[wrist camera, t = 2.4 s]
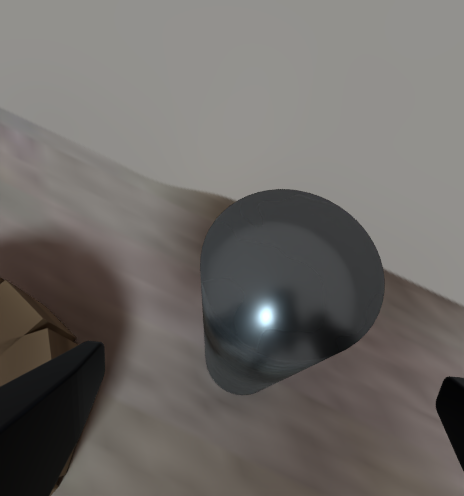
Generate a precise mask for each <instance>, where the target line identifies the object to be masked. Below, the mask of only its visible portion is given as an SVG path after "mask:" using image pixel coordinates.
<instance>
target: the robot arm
mask: <svg viewBox="0 0 464 496" xmlns="http://www.w3.org/2000/svg"><path fill="white" fill-rule="evenodd" d="M104 372H105V353H104V344H103V343H102V342H95V341H86V342H84V343H82V344H80V345H78V346H76V347H74V348H72V349H70V350H69V351H67V352H65V353H63V354H61V355H59V356H57V357H55V358H53V359H52V360H50V361H48V362H46V363H44V364H42V365H40V366H38V367H36V368H34V369H33V370H31V371H29V372H27V373H25V374H23V375H21V376H19V377H17V378H15V379H14V380H12V381H10V382H8V383H6V384H4V385H2V386H0V496H49V495H50V494H51V492H52V490H53V488H54V486H55V484H56V482H57V480H58V478H59V476H60V474H61V472H62V470H63V468H64V467H65V465H66V463H67V461H68V459H69V457H70V455H71V453H72V451H73V449H74V447H75V445H76V443H77V441H78V439H79V437H80V435H81V433H82V430H83V428H84V425H85V423H86V420H87V418H88V415H89V413H90V410H91V408H92V405H93V402H94V400H95V397H96V395H97V392H98V390H99V387H100V385H101V382H102V380H103V376H104ZM436 410H437V413H438V415H439V417H440V419H441V422H442V424H443V426H444V429H445V431H446V433H447V435H448V438H449V440H450V442H451V444H452V447H453V449H454V451H455V453H456V456H457V458H458V460H459V462H460V465H461V467H462V469H463V471H464V378H460V377H450V376H449V377H446V378H445V379H444V381H443V383H442V386H441V388H440V391H439V394H438V396H437V399H436Z"/></svg>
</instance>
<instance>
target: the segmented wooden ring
mask: <svg viewBox="0 0 464 496" xmlns="http://www.w3.org/2000/svg"><path fill="white" fill-rule="evenodd" d="M75 339H76V337H75V336H74V335H73V334H72V333H71V332H70V331H69V330H68V329H67V328H66V327H65V326H64V325H63V324H62V323H61V322H60V321H59V320H58V319H57V318H56V317H55V316H54V315H53V314H52V313H51V312H50V311H49V310H48V309H47V308H46V306H44V305H43V304H41V303H40V302H38V301H37V300H35V299H34V298H32V297H31V296H29V295H28V294H26V293H25V292H23V291H22V290H20V289H19V288H17V287H16V286H14V285H13V284H11V283H10V282H8V281H7V280H3V279H2V278H0V386H2V385H4V384H6V383H8V382H10V381H12V380H14V379H15V378H17V377H19V376H21V375H23V374H25V373H27V372H29V371H31V370H33V369H34V368H36V367H38V366H40V365H42V364H44V363H46V362H48V361H50V360H52V359H53V358H55V357H57V356H59V355H61V354H63V353H65V352H67V351H69V350H70V349H72V348H74V347H76V346H78V344H76V343H74V342H73V341H74V340H75ZM75 446H76V445H75ZM74 449H75V447H74ZM74 449H73V451H74ZM73 451H72V453H71V455H70V457H69V459H68V461H67V463H66V465H65V467H64V468H63V470H62V472H61V474H60V476H59V477H61V476H63V475H66V472H67V469H68V466H69V463H70V460H71V457H72V454H73ZM57 488H58V485H57V484H55V486H54V488H53V490H52V492H51V494H50V495H49V496H51V495H52V494H53V492H54V491H55V490H56V489H57Z"/></svg>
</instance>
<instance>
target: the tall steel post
mask: <svg viewBox="0 0 464 496" xmlns="http://www.w3.org/2000/svg"><path fill="white" fill-rule="evenodd" d="M200 271H201V289H202V306H203V323H204V341H205V358H206V365H207V369H208V371H209V373H210V375H211V377H212V379H213V380H214V381H215V382H216V383H217V385H218V386H220V387H221V388H222V389H224V390H226V391H227V392H230V393H232V394H236V395H249V394H253V393H256V392H258V391H261V390H263V389H265V388H267V387H269V386H271V385H273V384H275V383H277V382H279V381H281V380H283V379H286V378H288V377H290V376H292V375H294V374H296V373H298V372H300V371H302V370H304V369H306V368H308V367H310V366H313V365H315V364H317V363H319V362H321V361H323V360H325V359H327V358H329V357H331V356H333V355H335V354H338V353H340V352H342V351H344V350H346V349H348V348H349V347H351V346H352V345H353V344H355V343H356V342H358V341H359V340H360V339H361V338H362V337H363V336H364V335H365V334H366V333H367V332H368V330H369V329H370V328H371V326H372V325H373V324H374V322H375V320H376V318H377V316H378V314H379V311H380V308H381V305H382V302H383V296H384V272H383V267H382V263H381V259H380V256H379V254H378V251H377V249H376V247H375V245H374V243H373V241H372V240H371V238H370V236H369V235H368V234H367V232H366V231H365V230H364V228H363V227H362V226H361V225H360V224H359V223H358V222H357V220H355V219H354V218H353V217H352V216H351V215H350V214H349V213H347V212H346V211H345V210H343V209H342V208H340V207H339V206H338V205H336V204H334V203H332V202H331V201H329V200H326V199H324V198H322V197H319V196H317V195H314V194H311V193H307V192H302V191H297V190H289V189H286V190H285V189H276V190H267V191H262V192H257V193H254V194H251V195H249V196H246V197H244V198H242V199H240V200H238V201H237V202H235V203H233V204H232V205H230V206H229V207H228V208H227V209H226V210H224V211H223V212H222V213H221V214H220V215H219V217H218V218H217V219H216V220H215V221H214V223H213V224H212V226H211V227H210V229H209V231H208V233H207V235H206V237H205V241H204V244H203V247H202V253H201V263H200Z"/></svg>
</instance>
